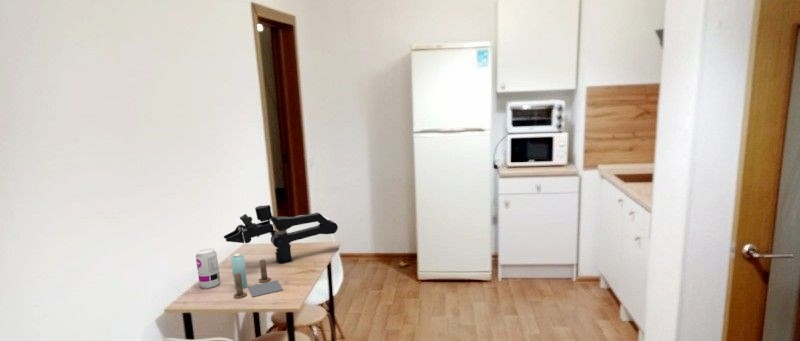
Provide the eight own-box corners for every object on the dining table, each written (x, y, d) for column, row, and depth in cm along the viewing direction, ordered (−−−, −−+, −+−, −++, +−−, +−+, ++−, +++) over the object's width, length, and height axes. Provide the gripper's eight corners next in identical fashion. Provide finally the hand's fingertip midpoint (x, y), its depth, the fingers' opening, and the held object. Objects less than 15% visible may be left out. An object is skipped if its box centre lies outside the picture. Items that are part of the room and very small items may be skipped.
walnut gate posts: (263, 278, 199) (261, 258, 198) (273, 278, 198) (270, 258, 197) (230, 298, 180) (228, 276, 179) (241, 299, 178) (238, 277, 177)
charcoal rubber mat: (277, 280, 195) (277, 280, 195) (283, 290, 184) (283, 289, 184) (248, 287, 190) (248, 286, 190) (252, 297, 179) (252, 296, 179)
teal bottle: (246, 283, 194) (242, 251, 192) (248, 287, 190) (244, 254, 188) (234, 286, 192) (230, 253, 190) (235, 290, 188) (231, 257, 186)
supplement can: (200, 290, 190) (195, 255, 188) (199, 284, 198) (194, 250, 195) (221, 285, 194) (217, 251, 192) (219, 279, 201) (214, 247, 199)
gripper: (252, 210, 221) (218, 219, 215) (258, 214, 205) (222, 224, 198) (257, 232, 223) (224, 242, 216) (264, 238, 206) (228, 248, 199)
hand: (224, 238), depth 207 cm, fingers open, 9 cm apart
